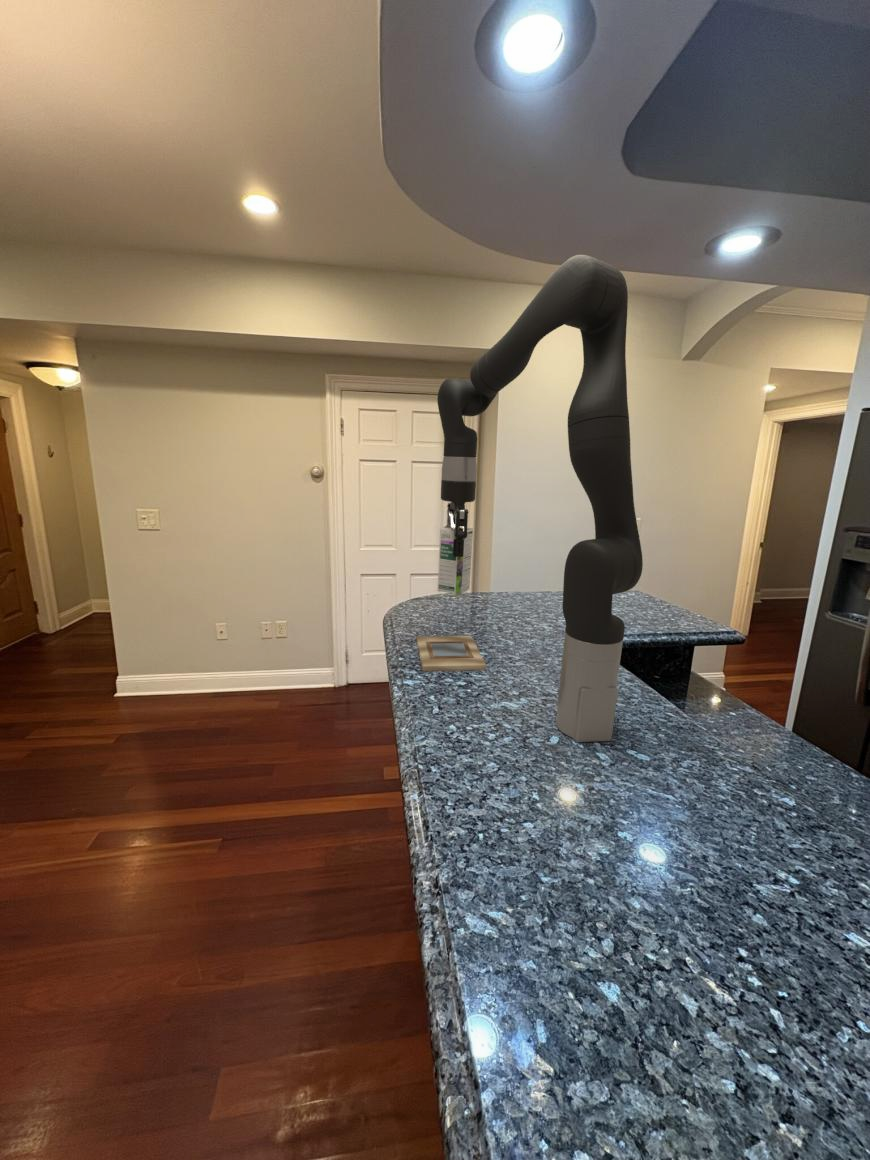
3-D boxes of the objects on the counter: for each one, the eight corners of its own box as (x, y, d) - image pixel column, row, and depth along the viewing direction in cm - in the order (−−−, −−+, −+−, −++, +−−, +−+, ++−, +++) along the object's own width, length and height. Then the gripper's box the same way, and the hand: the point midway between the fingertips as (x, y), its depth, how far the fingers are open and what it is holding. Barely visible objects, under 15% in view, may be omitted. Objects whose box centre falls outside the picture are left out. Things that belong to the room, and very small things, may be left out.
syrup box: (436, 591, 108) (439, 527, 105) (448, 585, 113) (451, 524, 110) (459, 595, 106) (462, 530, 102) (470, 589, 111) (474, 527, 107)
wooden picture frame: (486, 670, 105) (486, 664, 105) (422, 671, 104) (422, 665, 103) (470, 640, 123) (471, 635, 122) (416, 640, 121) (416, 635, 121)
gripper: (482, 481, 97) (477, 559, 101) (470, 477, 111) (466, 547, 115) (445, 479, 96) (442, 559, 100) (437, 476, 110) (435, 546, 114)
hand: (455, 552), depth 107 cm, fingers closed on syrup box, 8 cm apart
